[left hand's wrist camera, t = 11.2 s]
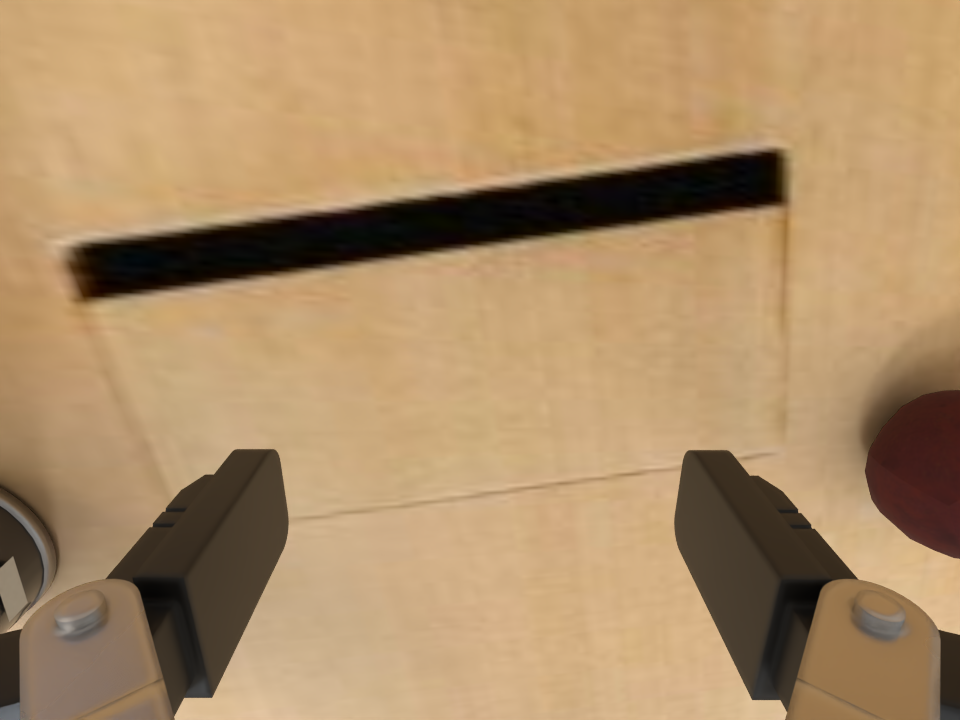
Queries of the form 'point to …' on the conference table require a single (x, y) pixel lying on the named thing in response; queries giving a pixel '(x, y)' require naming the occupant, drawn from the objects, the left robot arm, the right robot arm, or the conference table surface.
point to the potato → (920, 471)
